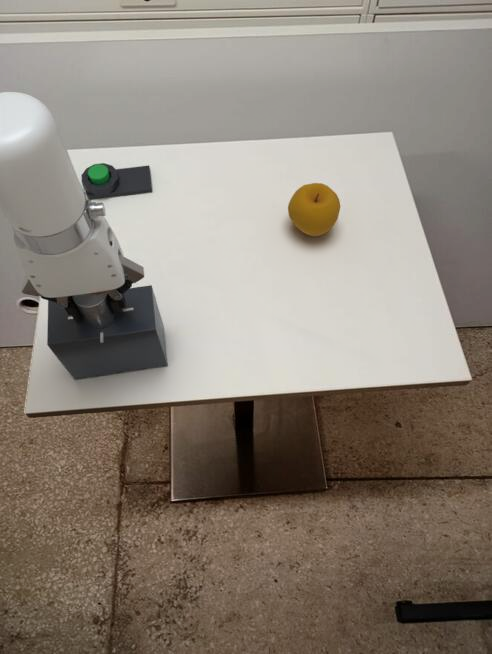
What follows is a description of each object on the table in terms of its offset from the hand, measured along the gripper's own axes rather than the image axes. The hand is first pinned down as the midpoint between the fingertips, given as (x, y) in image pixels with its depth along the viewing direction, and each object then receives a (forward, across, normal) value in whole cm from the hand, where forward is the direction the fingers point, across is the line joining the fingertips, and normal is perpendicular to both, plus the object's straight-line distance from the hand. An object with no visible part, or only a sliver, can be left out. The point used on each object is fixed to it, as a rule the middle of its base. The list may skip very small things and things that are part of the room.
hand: (99, 310), depth 66 cm
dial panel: (+13, 0, 0) cm, 13 cm away
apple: (+13, -34, -19) cm, 42 cm away
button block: (+13, -2, -35) cm, 37 cm away
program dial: (+1, 0, 0) cm, 1 cm away
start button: (+11, +1, -35) cm, 37 cm away
